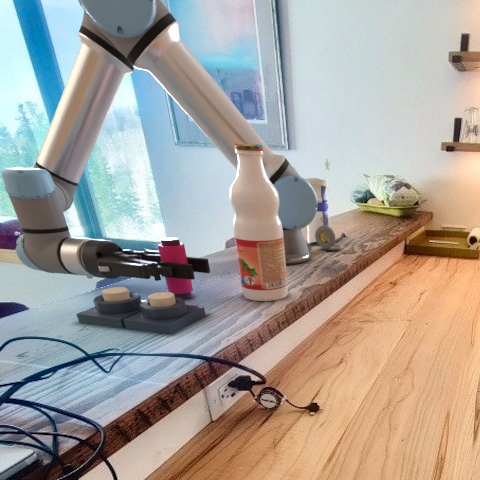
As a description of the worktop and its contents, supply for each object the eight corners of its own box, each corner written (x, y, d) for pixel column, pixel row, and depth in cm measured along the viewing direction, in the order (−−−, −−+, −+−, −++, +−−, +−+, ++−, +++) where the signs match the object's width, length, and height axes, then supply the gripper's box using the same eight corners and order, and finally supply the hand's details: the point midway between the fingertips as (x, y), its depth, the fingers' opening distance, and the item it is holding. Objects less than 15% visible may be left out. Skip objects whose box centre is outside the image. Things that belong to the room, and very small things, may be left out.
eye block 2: (164, 310, 80) (160, 292, 79) (205, 315, 79) (202, 297, 77) (125, 329, 72) (119, 309, 70) (171, 334, 71) (166, 314, 69)
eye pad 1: (116, 295, 77) (113, 285, 76) (135, 297, 77) (133, 288, 76) (98, 301, 74) (95, 292, 73) (119, 304, 73) (116, 294, 72)
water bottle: (317, 239, 149) (313, 157, 136) (336, 242, 145) (334, 158, 132) (300, 242, 142) (295, 156, 130) (320, 246, 139) (316, 158, 126)
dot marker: (179, 293, 90) (166, 236, 84) (199, 295, 89) (187, 237, 83) (165, 299, 86) (150, 239, 80) (185, 302, 85) (172, 242, 79)
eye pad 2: (160, 300, 76) (158, 290, 75) (181, 302, 75) (179, 293, 74) (145, 307, 73) (142, 297, 72) (166, 309, 72) (164, 299, 71)
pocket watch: (340, 247, 139) (339, 214, 134) (343, 252, 132) (342, 218, 127) (314, 247, 137) (313, 213, 132) (316, 252, 130) (315, 217, 125)
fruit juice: (287, 302, 88) (273, 145, 74) (240, 302, 86) (216, 142, 72) (289, 289, 96) (277, 145, 82) (246, 289, 94) (225, 142, 80)
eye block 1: (122, 305, 82) (117, 287, 80) (162, 310, 80) (157, 292, 79) (79, 323, 73) (72, 303, 71) (123, 328, 72) (117, 308, 70)
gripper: (132, 267, 96) (227, 277, 93) (65, 288, 81) (176, 300, 78) (122, 232, 92) (221, 241, 89) (50, 247, 77) (166, 258, 74)
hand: (200, 268), depth 83 cm, fingers closed on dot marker, 5 cm apart
